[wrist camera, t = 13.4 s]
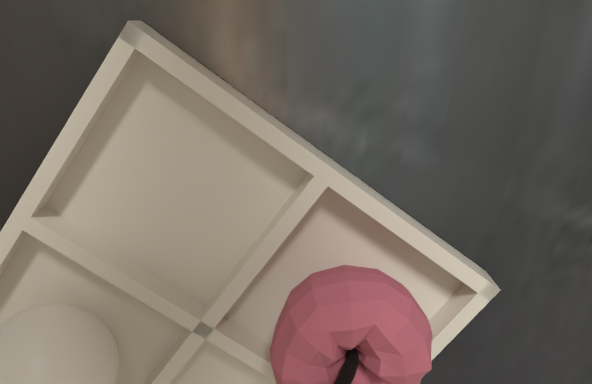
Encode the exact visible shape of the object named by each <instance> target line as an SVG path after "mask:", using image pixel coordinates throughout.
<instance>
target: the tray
mask: <svg viewBox="0 0 592 384" xmlns="http://www.w3.org/2000/svg"><path fill="white" fill-rule="evenodd" d="M341 265H350V266H358V267H366V268H374V269H378V270H380V271H382V272H383V273H385V274H387V275H388V276H390V277H391V278H393V279H395V280H396V281H398V282H400V283H401V284H402V285H403V286H404V287H406V288H407V289H408V290H409V291H410V293H411V294H412V296H413V297H414V299H415V300H416V302H417V303H418V305H419V306H420V307H421V309H422V310H423V312H424V313H425V315H426V316H427V319H428V321H429V324H430V326H431V331H432V335H433V338H432V344H431V361H432V360H433V359H434V358H435V357H436V356H437V355H438V354H439V353H440V352H441V351H442V350H443V349H444V348H445V347H446V345H447V344H448V343H449V342H450V341H451V340H452V339H453V338H454V337H455V336H456V335H457V334H458V333H459V332H460V331H461V330H462V329H463V328H464V327H465V326H466V325H467V324H468V323H469V322H470V321H471V320H472V319H473V318H474V317H475V316H476V315H477V314H478V313H479V312H480V311H481V310H482V309H483V308H484V307H485V306H486V305H487V304H488V303H489V301H490V300H491V299H492V298H493V297H494V296H495V295H496V294H497V293H498V292H499V291H500V289H499V287H498V286H497V285H496V284H495V282H494V281H493V280H492V278H491V277H490V276H489V275H488V273H487V272H486V271H485V270H483V269H482V268H481V267H479V266H478V265H477V264H475V263H474V262H472V261H471V260H470V259H468V258H467V257H466V256H464V255H463V254H461V253H460V252H459V251H457V250H456V249H455V248H453V247H452V246H450V245H449V244H448V243H446V242H445V241H444V240H442V239H441V238H439V237H438V236H437V235H435V234H434V233H433V232H431V231H430V230H428V229H427V228H426V227H424V226H423V225H422V224H420V223H419V222H417V221H416V220H415V219H413V218H412V217H411V216H409V215H408V214H406V213H405V212H404V211H402V210H401V209H400V208H398V207H397V206H395V205H394V204H393V203H391V202H390V201H389V200H387V199H386V198H384V197H383V196H382V195H380V194H379V193H378V192H376V191H375V190H373V189H372V188H371V187H369V186H368V185H367V184H365V183H364V182H362V181H361V180H360V179H358V178H357V177H356V176H354V175H353V174H351V173H350V172H349V171H347V170H346V169H345V168H343V167H342V166H340V165H339V164H338V163H336V162H335V161H334V160H332V159H331V158H329V157H328V156H327V155H325V154H324V153H323V152H321V151H320V150H319V149H317V148H316V147H314V146H313V145H312V144H310V143H309V142H308V141H306V140H305V139H303V138H302V137H301V136H299V135H298V134H297V133H295V132H294V131H292V130H291V129H290V128H288V127H287V126H286V125H284V124H283V123H281V122H280V121H279V120H277V119H276V118H275V117H273V116H272V115H270V114H269V113H268V112H266V111H265V110H264V109H262V108H261V107H259V106H258V105H257V104H255V103H254V102H253V101H251V100H250V99H248V98H247V97H246V96H244V95H243V94H242V93H240V92H239V91H237V90H236V89H235V88H233V87H232V86H231V85H229V84H228V83H226V82H225V81H224V80H222V79H221V78H220V77H218V76H217V75H215V74H214V73H213V72H211V71H210V70H209V69H207V68H206V67H204V66H203V65H202V64H200V63H199V62H198V61H196V60H195V59H193V58H192V57H191V56H189V55H188V54H187V53H185V52H184V51H182V50H181V49H180V48H178V47H177V46H176V45H174V44H173V43H171V42H170V41H169V40H167V39H166V38H165V37H163V36H162V35H160V34H159V33H158V32H156V31H155V30H154V29H152V28H151V27H150V26H148V25H147V24H145V23H144V22H143V21H128V22H127V23H126V25H125V27H124V28H123V30H122V32H121V33H120V35H119V37H118V38H117V40H116V42H115V43H114V45H113V47H112V48H111V50H110V52H109V53H108V55H107V56H106V58H105V60H104V61H103V63H102V65H101V66H100V68H99V70H98V71H97V73H96V75H95V76H94V78H93V80H92V81H91V83H90V85H89V86H88V88H87V90H86V91H85V93H84V95H83V96H82V98H81V100H80V101H79V103H78V104H77V106H76V108H75V109H74V111H73V113H72V114H71V116H70V118H69V119H68V121H67V123H66V124H65V126H64V128H63V129H62V131H61V133H60V134H59V136H58V138H57V139H56V141H55V143H54V144H53V146H52V148H51V149H50V151H49V152H48V154H47V156H46V157H45V159H44V161H43V162H42V164H41V166H40V167H39V169H38V171H37V172H36V174H35V176H34V177H33V179H32V181H31V182H30V184H29V186H28V187H27V189H26V191H25V192H24V194H23V196H22V197H21V199H20V200H19V202H18V204H17V205H16V207H15V209H14V210H13V212H12V214H11V215H10V217H9V219H8V220H7V222H6V224H5V225H4V227H3V229H2V230H1V232H0V325H1V324H2V323H3V322H5V321H6V320H8V319H9V318H10V317H12V316H14V315H15V314H17V313H19V312H21V311H23V310H26V309H28V308H31V307H34V306H38V305H43V304H51V303H62V304H69V305H74V306H78V307H81V308H83V309H85V310H87V311H89V312H91V313H93V314H94V315H96V316H97V317H98V318H99V319H100V320H101V321H102V322H103V323H104V324H105V325H106V326H107V328H108V329H109V330H110V332H111V334H112V335H113V337H114V340H115V342H116V346H117V350H118V355H119V371H118V377H117V381H116V384H276V380H275V377H274V373H273V370H272V366H271V362H270V347H271V343H272V339H273V335H274V331H275V326H276V323H277V321H278V318H279V316H280V313H281V311H282V309H283V307H284V304H285V302H286V300H287V298H288V296H289V293H290V291H291V290H292V289H293V288H295V287H296V286H297V285H298V284H299V283H301V282H302V281H303V280H304V279H306V278H307V277H308V276H309V275H311V274H312V273H315V272H319V271H323V270H326V269H330V268H334V267H338V266H341Z"/></svg>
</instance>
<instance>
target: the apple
mask: <svg viewBox="0 0 592 384" xmlns="http://www.w3.org/2000/svg"><path fill="white" fill-rule="evenodd" d="M432 338H433V335H432V331H431V326H430V324H429V321H428V319H427V316H426V315H425V313H424V312H423V310H422V309H421V307H420V306H419V305H418V303H417V302H416V300H415V299H414V297H413V296H412V294H411V293H410V291H409V290H408V289H407V288H406V287H404V286H403V285H402V284H401V283H400V282H398V281H396V280H395V279H393V278H391V277H390V276H388V275H387V274H385V273H383V272H382V271H380V270H378V269H374V268H366V267H358V266H350V265H341V266H338V267H334V268H330V269H326V270H323V271H319V272H315V273H312V274H311V275H309V276H308V277H307V278H306V279H304V280H303V281H302V282H301V283H299V284H298V285H297V286H296V287H295V288H293V289H292V290H291V291H290V293H289V296H288V298H287V300H286V302H285V304H284V307H283V309H282V311H281V313H280V316H279V318H278V321H277V323H276V326H275V331H274V335H273V339H272V343H271V347H270V362H271V366H272V370H273V373H274V377H275V380H276V384H420V380H421V378H422V377H423V376H424V375H425V374H426V373H427V372H429V371H431V369H432V368H431V344H432Z"/></svg>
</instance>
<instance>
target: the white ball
mask: <svg viewBox="0 0 592 384" xmlns="http://www.w3.org/2000/svg"><path fill="white" fill-rule="evenodd" d="M118 371H119V355H118V350H117V346H116V342H115V340H114V337H113V335H112V334H111V332H110V330H109V329H108V328H107V326H106V325H105V324H104V323H103V322H102V321H101V320H100V319H99V318H98V317H97V316H96V315H94V314H93V313H91V312H89V311H87V310H85V309H83V308H81V307H78V306H74V305H69V304H62V303H51V304H43V305H38V306H34V307H31V308H28V309H26V310H23V311H21V312H19V313H17V314H15V315H14V316H12V317H10V318H9V319H8V320H6V321H5V322H3V323H2V324H1V325H0V384H116V381H117V377H118Z"/></svg>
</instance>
